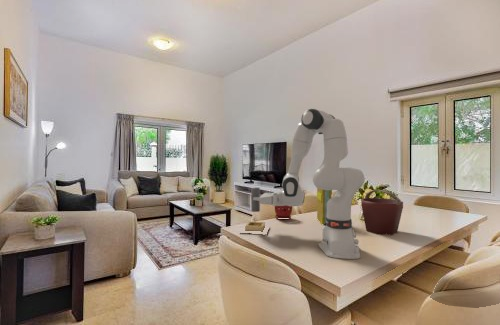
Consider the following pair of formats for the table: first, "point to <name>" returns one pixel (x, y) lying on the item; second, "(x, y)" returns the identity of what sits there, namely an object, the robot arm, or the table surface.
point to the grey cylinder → (255, 204)
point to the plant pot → (283, 211)
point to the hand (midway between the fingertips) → (254, 197)
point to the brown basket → (382, 213)
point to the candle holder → (255, 226)
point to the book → (322, 204)
